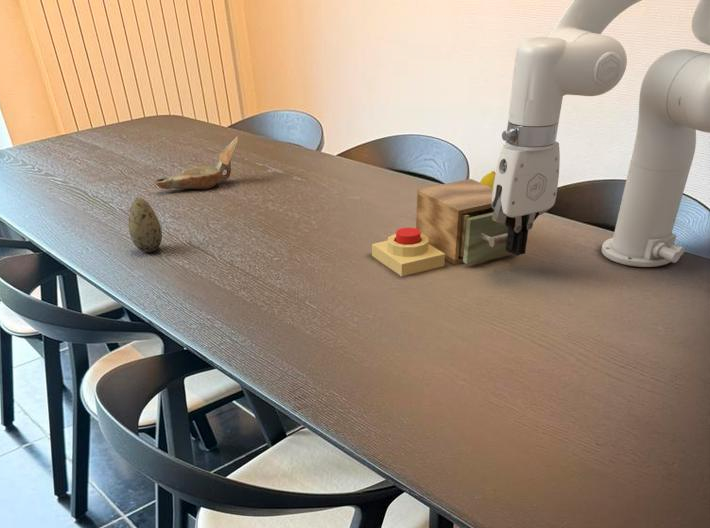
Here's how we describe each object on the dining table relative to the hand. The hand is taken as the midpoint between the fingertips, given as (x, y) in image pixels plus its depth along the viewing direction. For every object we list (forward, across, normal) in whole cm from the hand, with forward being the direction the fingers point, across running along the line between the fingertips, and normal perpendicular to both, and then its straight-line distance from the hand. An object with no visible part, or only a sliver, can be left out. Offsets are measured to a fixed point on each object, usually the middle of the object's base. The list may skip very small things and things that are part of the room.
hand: (515, 252), depth 115 cm
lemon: (+4, +16, +29) cm, 33 cm away
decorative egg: (+4, -52, +46) cm, 70 cm away
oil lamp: (+4, -31, +79) cm, 85 cm away
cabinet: (+4, 0, +16) cm, 16 cm away
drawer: (+3, 0, +10) cm, 11 cm away
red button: (+1, -12, +15) cm, 19 cm away
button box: (+4, -12, +15) cm, 20 cm away
